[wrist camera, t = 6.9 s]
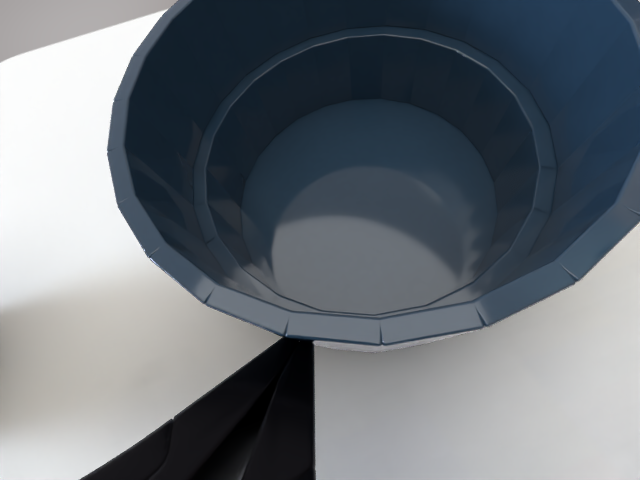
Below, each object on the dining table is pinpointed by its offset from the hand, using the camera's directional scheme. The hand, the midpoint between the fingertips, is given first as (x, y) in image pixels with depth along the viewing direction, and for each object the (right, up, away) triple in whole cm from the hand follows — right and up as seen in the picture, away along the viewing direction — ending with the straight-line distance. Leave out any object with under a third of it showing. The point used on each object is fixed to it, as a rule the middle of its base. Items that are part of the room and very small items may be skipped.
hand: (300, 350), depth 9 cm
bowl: (+3, +5, +9) cm, 11 cm away
